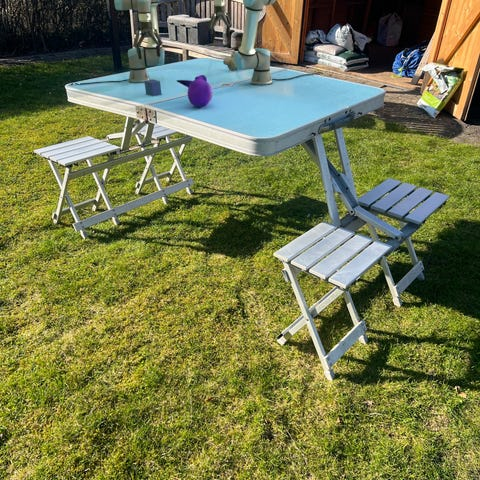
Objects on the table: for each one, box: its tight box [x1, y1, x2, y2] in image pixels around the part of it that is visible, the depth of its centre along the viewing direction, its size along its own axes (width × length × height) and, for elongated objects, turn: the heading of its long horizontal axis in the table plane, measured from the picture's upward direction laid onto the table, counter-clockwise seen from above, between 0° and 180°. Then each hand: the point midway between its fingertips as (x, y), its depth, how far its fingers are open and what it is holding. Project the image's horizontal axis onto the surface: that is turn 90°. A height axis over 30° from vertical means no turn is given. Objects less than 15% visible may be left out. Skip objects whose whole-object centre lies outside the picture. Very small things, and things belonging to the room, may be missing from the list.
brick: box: [144, 79, 162, 97], centre depth 298 cm, size 7×9×8 cm
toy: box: [176, 74, 214, 108], centre depth 269 cm, size 16×18×27 cm
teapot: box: [222, 50, 239, 72], centre depth 367 cm, size 21×12×15 cm, turn 120°
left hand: (149, 57), depth 289 cm, fingers open, 13 cm apart
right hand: (220, 37), depth 331 cm, fingers open, 13 cm apart
